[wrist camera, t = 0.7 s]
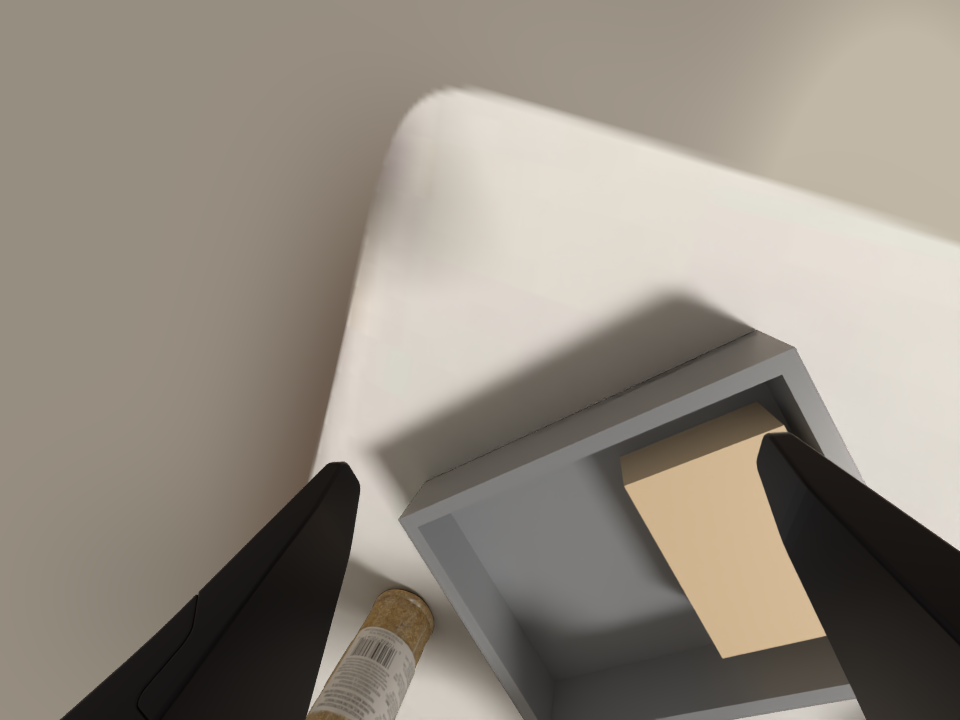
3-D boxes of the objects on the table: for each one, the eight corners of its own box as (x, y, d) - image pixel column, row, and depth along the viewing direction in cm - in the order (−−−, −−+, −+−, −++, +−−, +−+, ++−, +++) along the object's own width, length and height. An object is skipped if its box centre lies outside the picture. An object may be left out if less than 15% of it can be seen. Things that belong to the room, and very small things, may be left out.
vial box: (848, 573, 21) (888, 622, 18) (706, 609, 23) (722, 658, 21) (757, 401, 20) (784, 425, 17) (619, 457, 23) (624, 486, 20)
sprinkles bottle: (367, 618, 31) (210, 874, 18) (388, 574, 29) (234, 818, 17) (422, 652, 30) (300, 940, 17) (446, 608, 29) (332, 889, 16)
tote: (900, 604, 21) (966, 679, 18) (550, 685, 28) (544, 751, 24) (756, 329, 20) (794, 347, 16) (425, 482, 27) (398, 519, 23)
